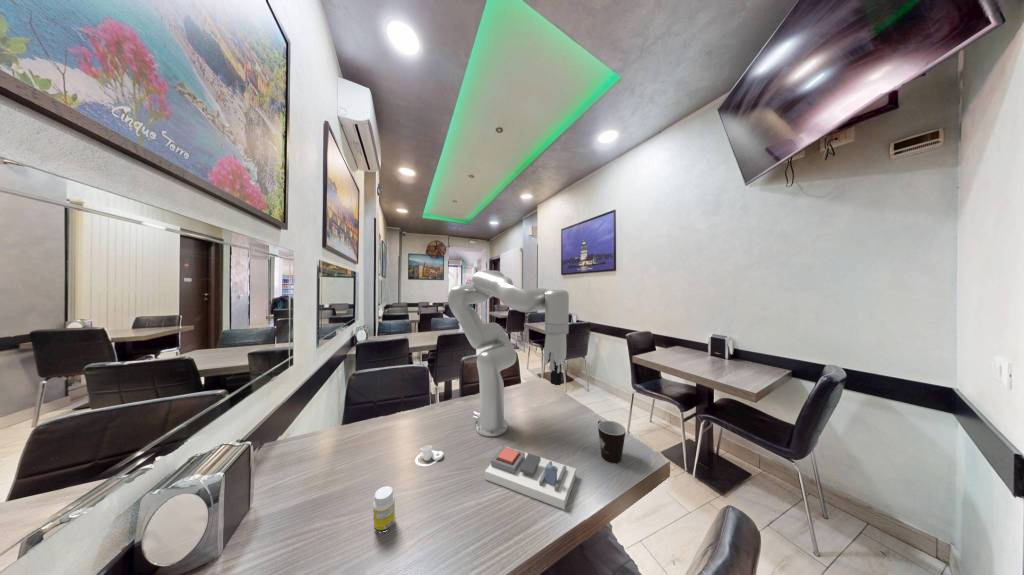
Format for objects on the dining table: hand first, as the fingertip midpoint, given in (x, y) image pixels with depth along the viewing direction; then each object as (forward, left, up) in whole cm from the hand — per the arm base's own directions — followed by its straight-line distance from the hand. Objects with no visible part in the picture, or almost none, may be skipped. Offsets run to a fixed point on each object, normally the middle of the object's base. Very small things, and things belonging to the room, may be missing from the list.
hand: (556, 383), depth 90 cm
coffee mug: (+16, +10, -25) cm, 32 cm away
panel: (-4, -12, -25) cm, 28 cm away
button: (-12, -12, -22) cm, 28 cm away
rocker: (-4, -12, -21) cm, 24 cm away
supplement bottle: (-30, -42, -25) cm, 57 cm away
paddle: (+3, -14, -22) cm, 27 cm away
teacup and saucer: (-35, -21, -26) cm, 48 cm away
